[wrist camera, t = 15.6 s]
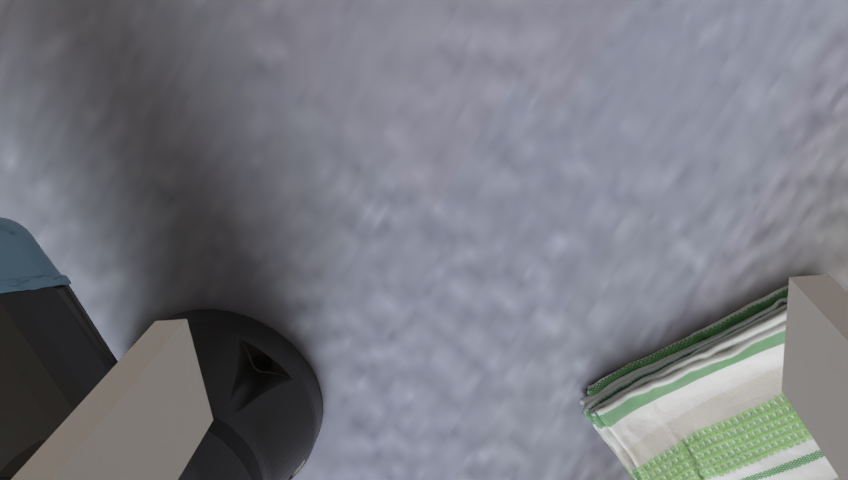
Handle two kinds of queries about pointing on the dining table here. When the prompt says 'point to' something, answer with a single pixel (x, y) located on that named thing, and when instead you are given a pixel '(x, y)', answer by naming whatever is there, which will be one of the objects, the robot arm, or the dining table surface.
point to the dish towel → (710, 406)
